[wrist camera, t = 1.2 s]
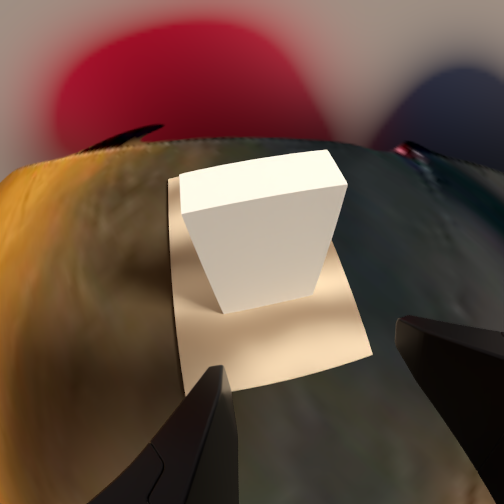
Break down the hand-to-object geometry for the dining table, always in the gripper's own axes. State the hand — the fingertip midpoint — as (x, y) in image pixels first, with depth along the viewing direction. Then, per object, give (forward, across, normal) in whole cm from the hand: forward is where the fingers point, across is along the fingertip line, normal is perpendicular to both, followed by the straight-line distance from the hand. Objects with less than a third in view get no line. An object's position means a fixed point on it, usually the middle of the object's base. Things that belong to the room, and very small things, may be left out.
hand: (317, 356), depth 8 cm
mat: (+17, 0, +1) cm, 17 cm away
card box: (+14, 0, +3) cm, 14 cm away
